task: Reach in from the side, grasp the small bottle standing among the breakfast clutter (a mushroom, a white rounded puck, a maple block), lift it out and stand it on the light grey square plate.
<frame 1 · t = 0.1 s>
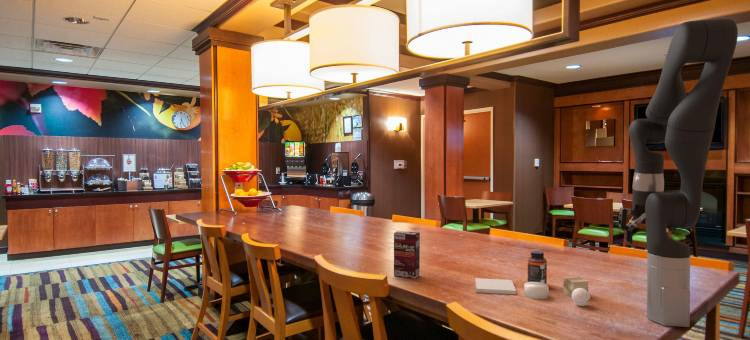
hand: (645, 244, 125), 17 cm above the table, tool pointing down, fingers open, 8 cm apart
supplement box: (406, 276, 156), on the table
maple block: (575, 295, 134), on the table
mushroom: (580, 306, 124), on the table
supplement bottle: (537, 286, 143), on the table
white rounded puck: (536, 296, 133), on the table
plate: (494, 287, 141), on the table
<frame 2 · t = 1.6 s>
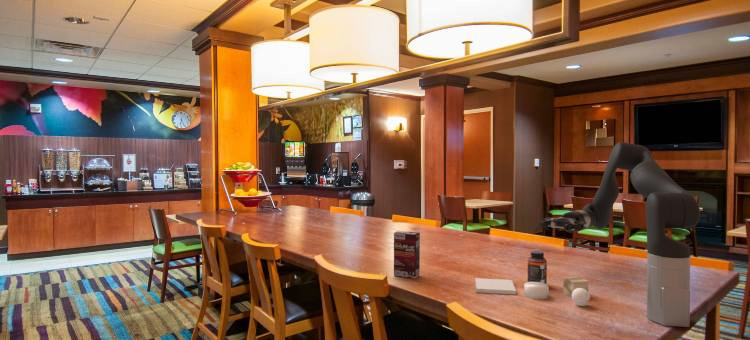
hand: (553, 226, 150), 19 cm above the table, tool horizontal, fingers open, 8 cm apart
nothing on the table moved.
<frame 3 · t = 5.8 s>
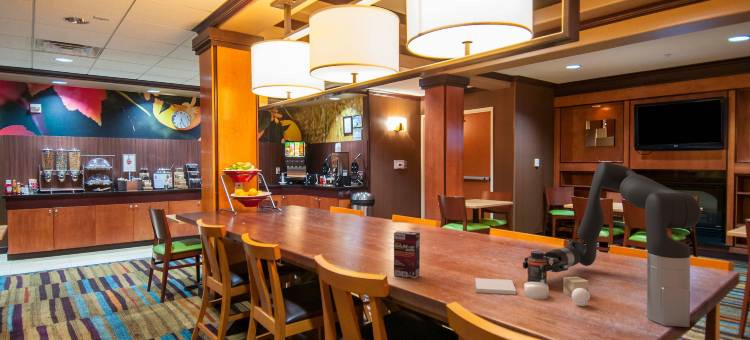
hand: (533, 267, 142), 7 cm above the table, tool horizontal, fingers closed on supplement bottle, 6 cm apart
supplement bottle: (537, 286, 143), on the table, touching gripper
everything else where it was.
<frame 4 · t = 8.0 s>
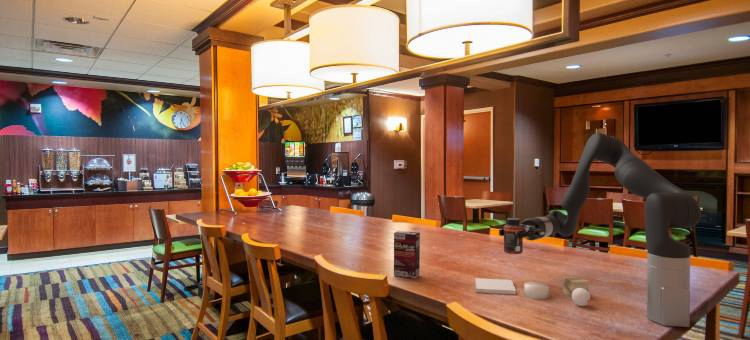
hand: (508, 233, 141), 18 cm above the table, tool horizontal, fingers closed on supplement bottle, 6 cm apart
supplement bottle: (513, 253, 142), point 11 cm above the table, touching gripper
everything else where it was.
when the fingers open (9 cm above the table, at t = 10.6 s): supplement bottle drops 1 cm, resting on plate.
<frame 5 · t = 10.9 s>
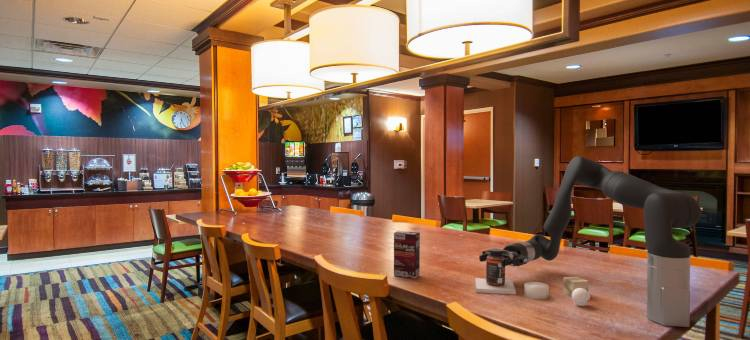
hand: (491, 260, 140), 9 cm above the table, tool horizontal, fingers open, 8 cm apart
supplement bottle: (495, 284, 141), point 1 cm above the table, touching plate
everything else where it was.
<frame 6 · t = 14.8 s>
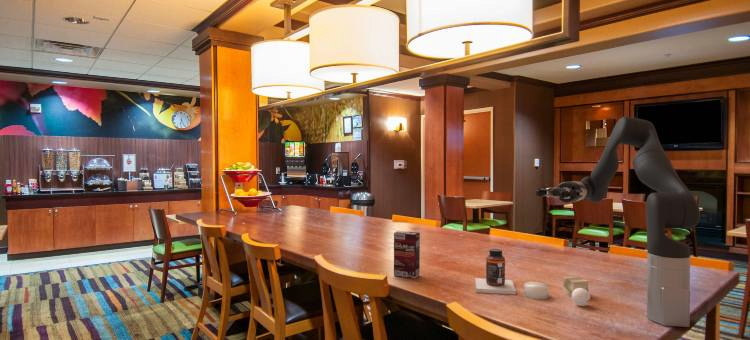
hand: (548, 194, 148), 30 cm above the table, tool horizontal, fingers open, 8 cm apart
nothing on the table moved.
at the end: supplement bottle inside the target area on the plate (0.3 cm from its centre), point 1.0 cm above the plate's base; supplement bottle tilted 0°; the gripper is holding nothing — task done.
